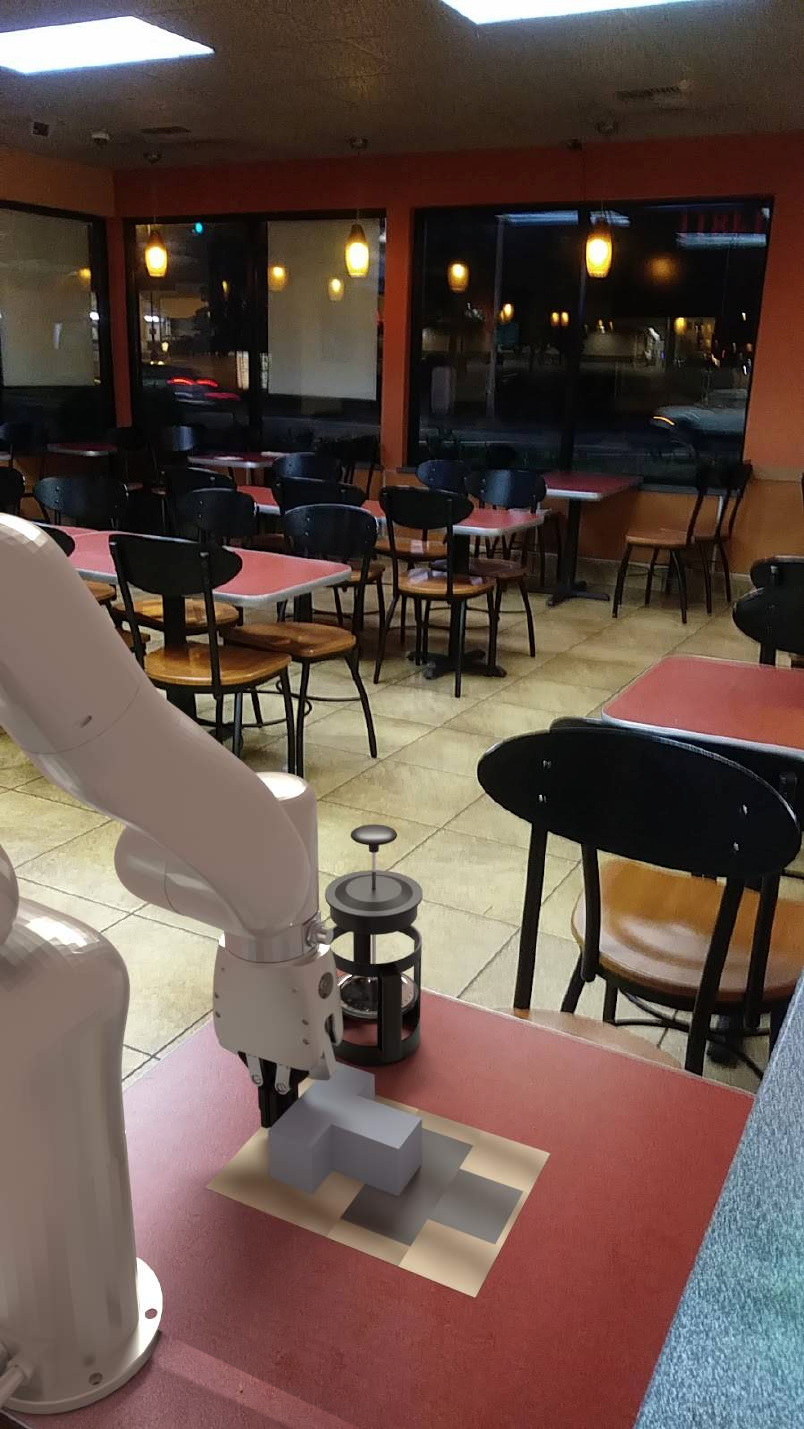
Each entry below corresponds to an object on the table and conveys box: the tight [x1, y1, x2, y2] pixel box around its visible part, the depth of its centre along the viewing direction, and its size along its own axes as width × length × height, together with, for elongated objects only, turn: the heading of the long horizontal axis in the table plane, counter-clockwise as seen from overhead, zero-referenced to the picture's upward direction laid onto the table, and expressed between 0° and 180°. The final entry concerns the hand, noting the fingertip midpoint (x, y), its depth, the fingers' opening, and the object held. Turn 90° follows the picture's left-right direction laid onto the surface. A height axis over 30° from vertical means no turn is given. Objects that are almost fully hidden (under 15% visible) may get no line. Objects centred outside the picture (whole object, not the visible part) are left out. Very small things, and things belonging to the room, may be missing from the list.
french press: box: [324, 823, 424, 1068], centre depth 99 cm, size 12×9×23 cm
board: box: [204, 1078, 551, 1299], centre depth 86 cm, size 16×23×1 cm
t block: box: [268, 1061, 422, 1196], centre depth 87 cm, size 10×10×4 cm
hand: (279, 1119), depth 90 cm, fingers closed
